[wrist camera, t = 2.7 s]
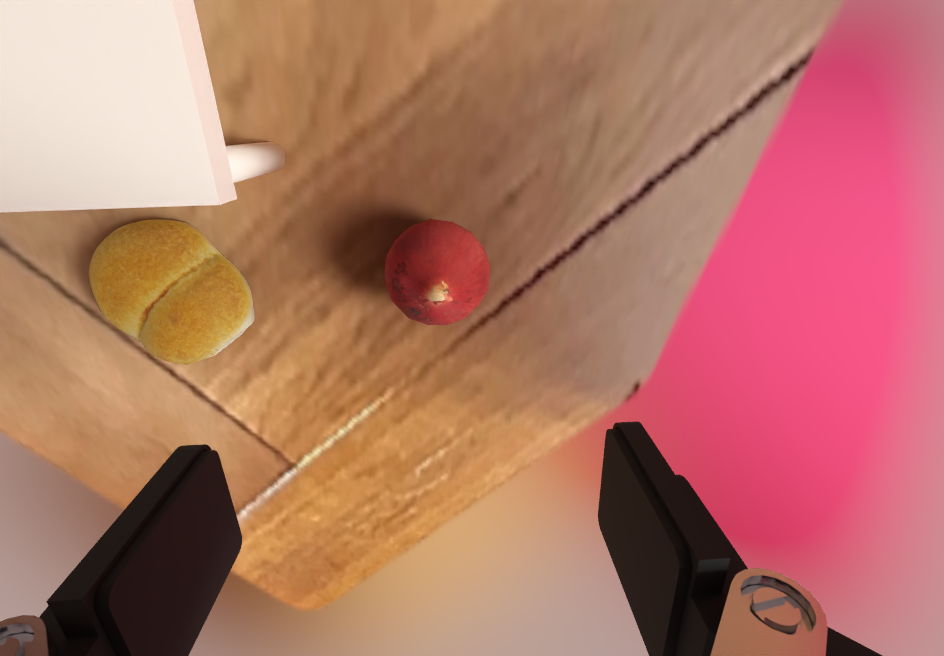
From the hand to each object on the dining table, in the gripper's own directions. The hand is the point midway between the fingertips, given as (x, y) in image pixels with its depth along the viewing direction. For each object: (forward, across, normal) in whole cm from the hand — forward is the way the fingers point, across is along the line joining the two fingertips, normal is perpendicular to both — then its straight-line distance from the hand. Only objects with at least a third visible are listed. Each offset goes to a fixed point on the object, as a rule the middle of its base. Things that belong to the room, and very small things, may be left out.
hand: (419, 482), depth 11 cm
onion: (+20, 0, -1) cm, 20 cm away
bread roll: (+21, +16, +1) cm, 26 cm away
